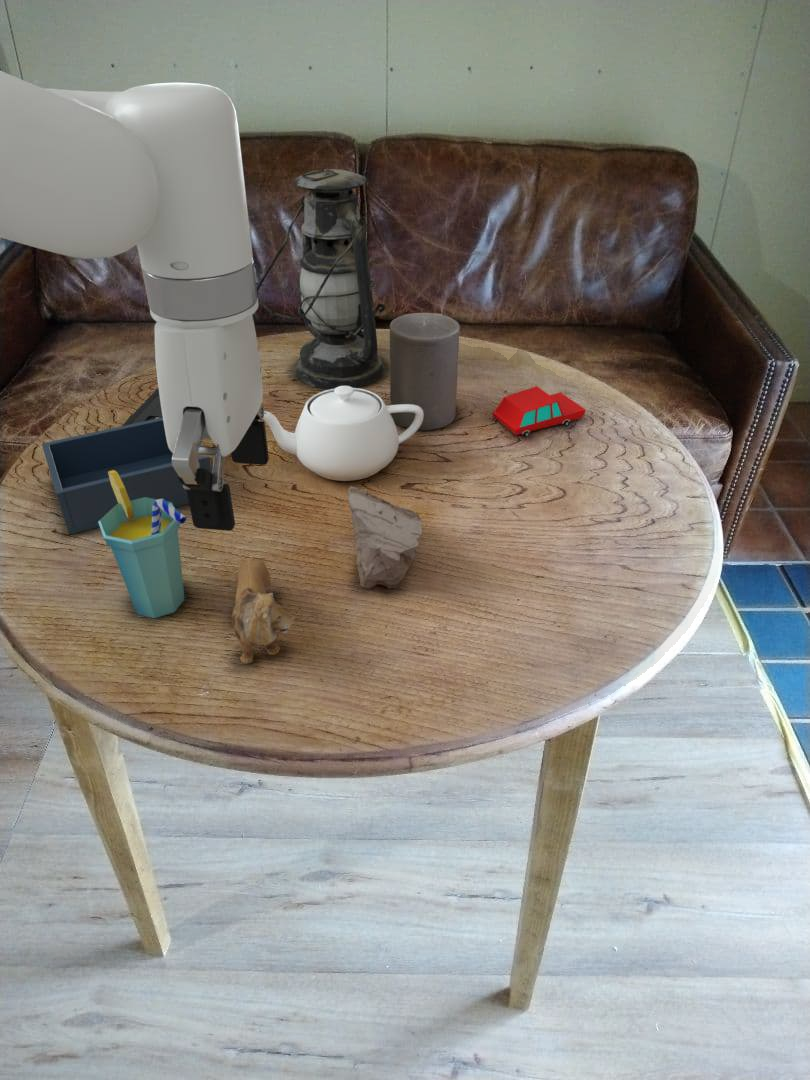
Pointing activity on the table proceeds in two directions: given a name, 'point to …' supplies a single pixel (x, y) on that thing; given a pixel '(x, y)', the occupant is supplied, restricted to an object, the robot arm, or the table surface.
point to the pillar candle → (424, 368)
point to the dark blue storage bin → (122, 449)
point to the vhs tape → (147, 410)
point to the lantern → (334, 284)
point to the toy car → (536, 410)
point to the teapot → (345, 433)
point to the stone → (382, 538)
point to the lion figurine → (257, 610)
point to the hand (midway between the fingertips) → (233, 492)
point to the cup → (146, 549)
